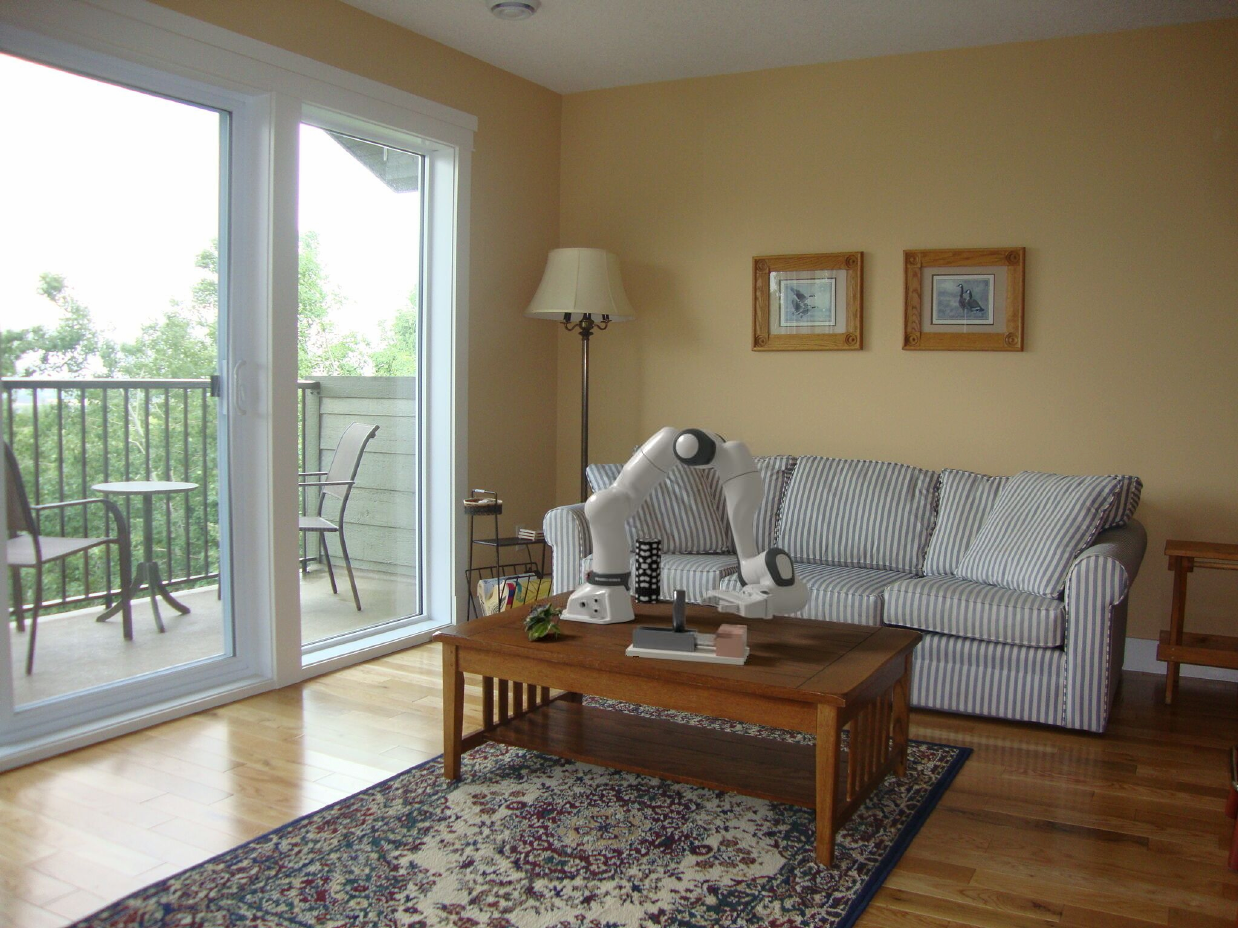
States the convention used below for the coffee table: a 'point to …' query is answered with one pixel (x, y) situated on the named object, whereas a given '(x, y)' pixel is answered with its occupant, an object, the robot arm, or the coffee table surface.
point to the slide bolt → (679, 620)
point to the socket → (731, 640)
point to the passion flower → (542, 620)
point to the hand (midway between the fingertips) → (709, 604)
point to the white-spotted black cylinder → (648, 570)
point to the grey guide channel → (664, 638)
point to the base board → (687, 655)
